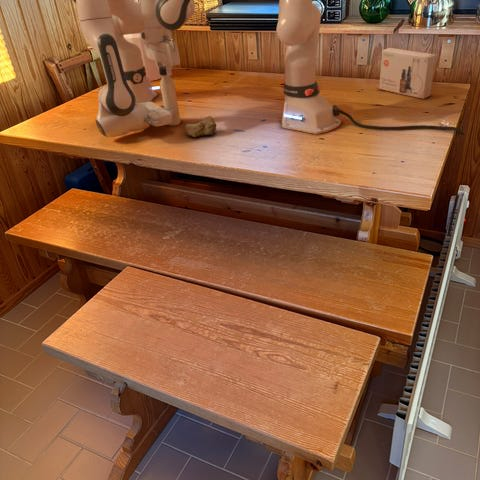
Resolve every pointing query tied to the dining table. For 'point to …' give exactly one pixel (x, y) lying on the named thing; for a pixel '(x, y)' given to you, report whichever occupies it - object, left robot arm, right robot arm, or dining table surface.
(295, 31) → the right robot arm
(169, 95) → the bottle
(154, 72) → the container
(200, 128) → the rock
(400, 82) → the skincare box
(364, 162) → the dining table surface
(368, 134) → the dining table surface
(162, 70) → the cap
